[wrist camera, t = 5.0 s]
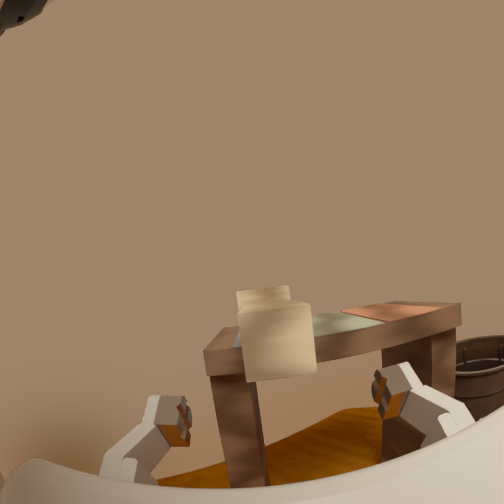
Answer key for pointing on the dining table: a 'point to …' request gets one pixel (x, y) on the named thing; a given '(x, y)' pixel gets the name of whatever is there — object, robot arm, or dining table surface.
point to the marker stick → (275, 334)
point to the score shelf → (331, 348)
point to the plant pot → (480, 374)
